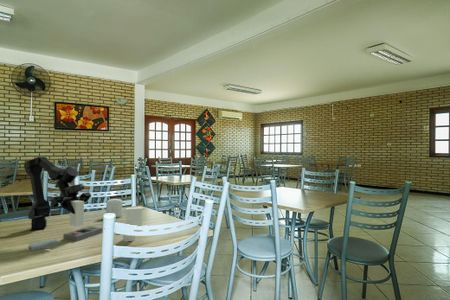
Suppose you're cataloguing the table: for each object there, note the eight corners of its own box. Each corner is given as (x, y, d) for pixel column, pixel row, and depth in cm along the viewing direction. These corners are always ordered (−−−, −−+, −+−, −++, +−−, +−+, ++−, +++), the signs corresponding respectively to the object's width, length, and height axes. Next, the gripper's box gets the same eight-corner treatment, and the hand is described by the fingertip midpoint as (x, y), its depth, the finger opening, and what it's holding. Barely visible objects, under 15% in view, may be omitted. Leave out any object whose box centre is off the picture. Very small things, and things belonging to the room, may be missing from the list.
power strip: (76, 242, 132) (76, 235, 132) (63, 240, 136) (63, 232, 136) (102, 233, 147) (102, 227, 147) (89, 231, 151) (90, 225, 151)
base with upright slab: (127, 231, 151) (127, 210, 152) (124, 227, 159) (125, 207, 160) (143, 230, 156) (144, 209, 156) (140, 226, 164) (141, 206, 164)
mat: (30, 251, 120) (31, 249, 120) (29, 244, 128) (29, 243, 128) (59, 246, 127) (59, 245, 127) (56, 240, 135) (56, 238, 135)
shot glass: (124, 238, 141) (124, 224, 141) (137, 237, 141) (138, 224, 141) (120, 242, 134) (120, 228, 134) (134, 242, 134) (135, 228, 135)
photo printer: (121, 215, 188) (121, 197, 189) (122, 217, 185) (123, 198, 185) (105, 217, 183) (105, 199, 183) (106, 218, 179) (106, 200, 179)
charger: (75, 226, 135) (76, 202, 135) (69, 225, 137) (70, 201, 137) (83, 224, 138) (84, 201, 139) (77, 223, 141) (77, 200, 141)
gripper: (54, 180, 132) (67, 205, 126) (89, 177, 148) (102, 199, 143) (44, 194, 135) (57, 220, 130) (80, 190, 152) (92, 212, 147)
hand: (78, 212), depth 137 cm, fingers closed on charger, 4 cm apart
